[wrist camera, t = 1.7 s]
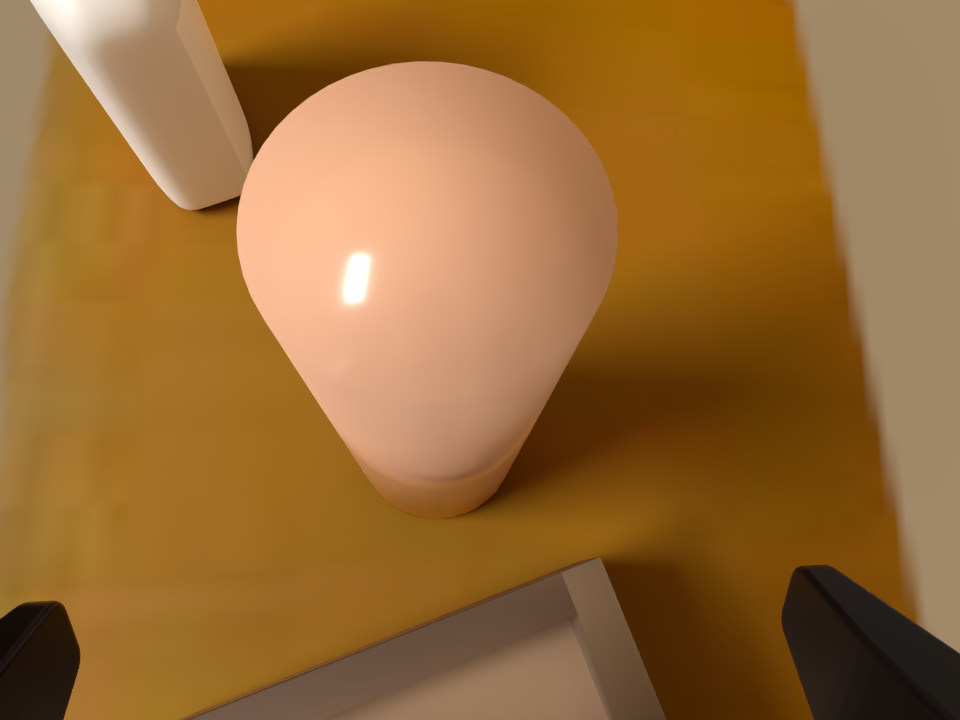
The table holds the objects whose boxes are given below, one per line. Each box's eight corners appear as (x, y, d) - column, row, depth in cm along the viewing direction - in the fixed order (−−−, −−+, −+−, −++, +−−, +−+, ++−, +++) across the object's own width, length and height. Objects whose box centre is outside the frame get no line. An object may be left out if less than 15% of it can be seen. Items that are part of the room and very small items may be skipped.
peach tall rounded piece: (536, 487, 20) (680, 326, 8) (388, 542, 20) (298, 460, 7) (482, 348, 22) (535, 24, 9) (340, 396, 21) (194, 116, 9)
